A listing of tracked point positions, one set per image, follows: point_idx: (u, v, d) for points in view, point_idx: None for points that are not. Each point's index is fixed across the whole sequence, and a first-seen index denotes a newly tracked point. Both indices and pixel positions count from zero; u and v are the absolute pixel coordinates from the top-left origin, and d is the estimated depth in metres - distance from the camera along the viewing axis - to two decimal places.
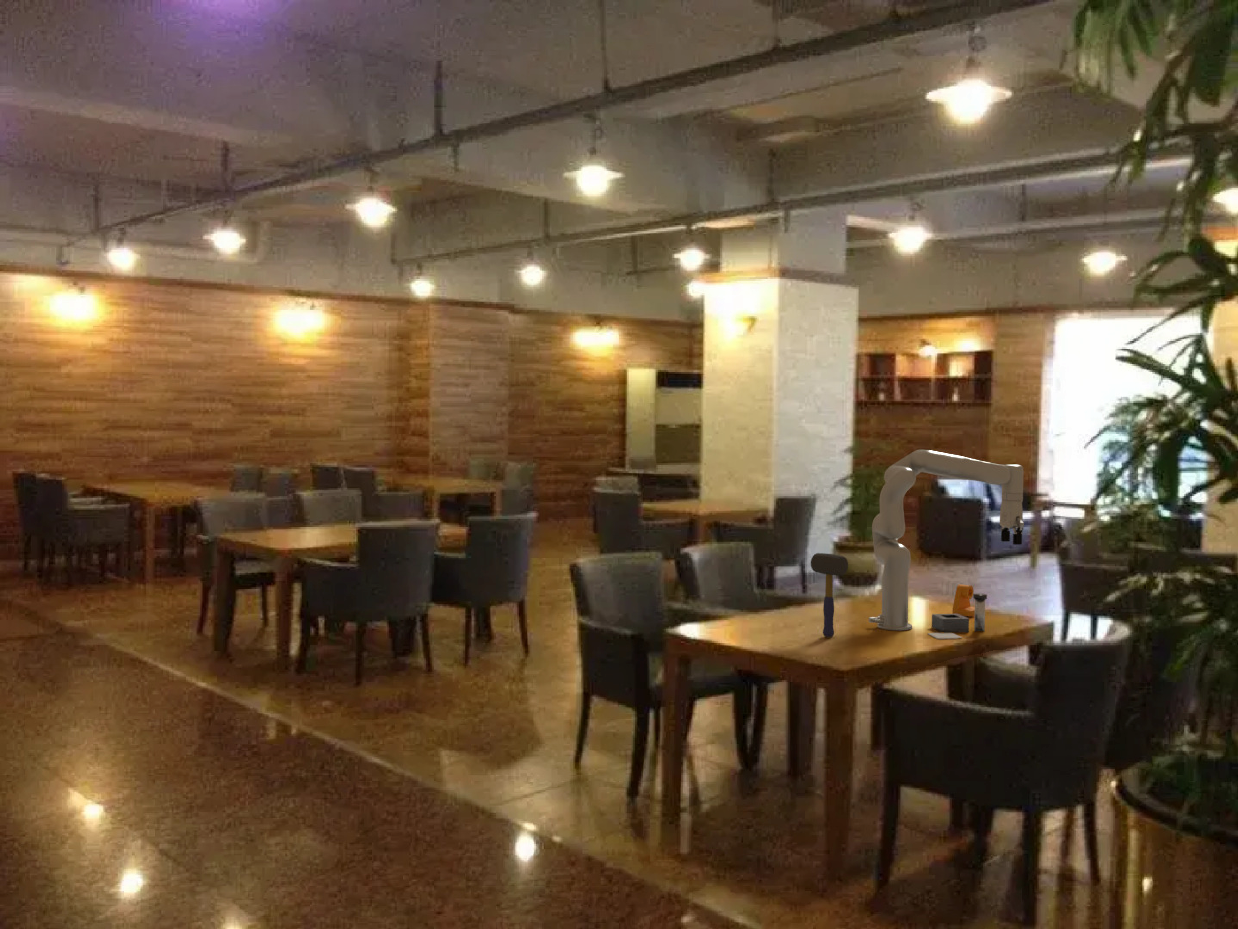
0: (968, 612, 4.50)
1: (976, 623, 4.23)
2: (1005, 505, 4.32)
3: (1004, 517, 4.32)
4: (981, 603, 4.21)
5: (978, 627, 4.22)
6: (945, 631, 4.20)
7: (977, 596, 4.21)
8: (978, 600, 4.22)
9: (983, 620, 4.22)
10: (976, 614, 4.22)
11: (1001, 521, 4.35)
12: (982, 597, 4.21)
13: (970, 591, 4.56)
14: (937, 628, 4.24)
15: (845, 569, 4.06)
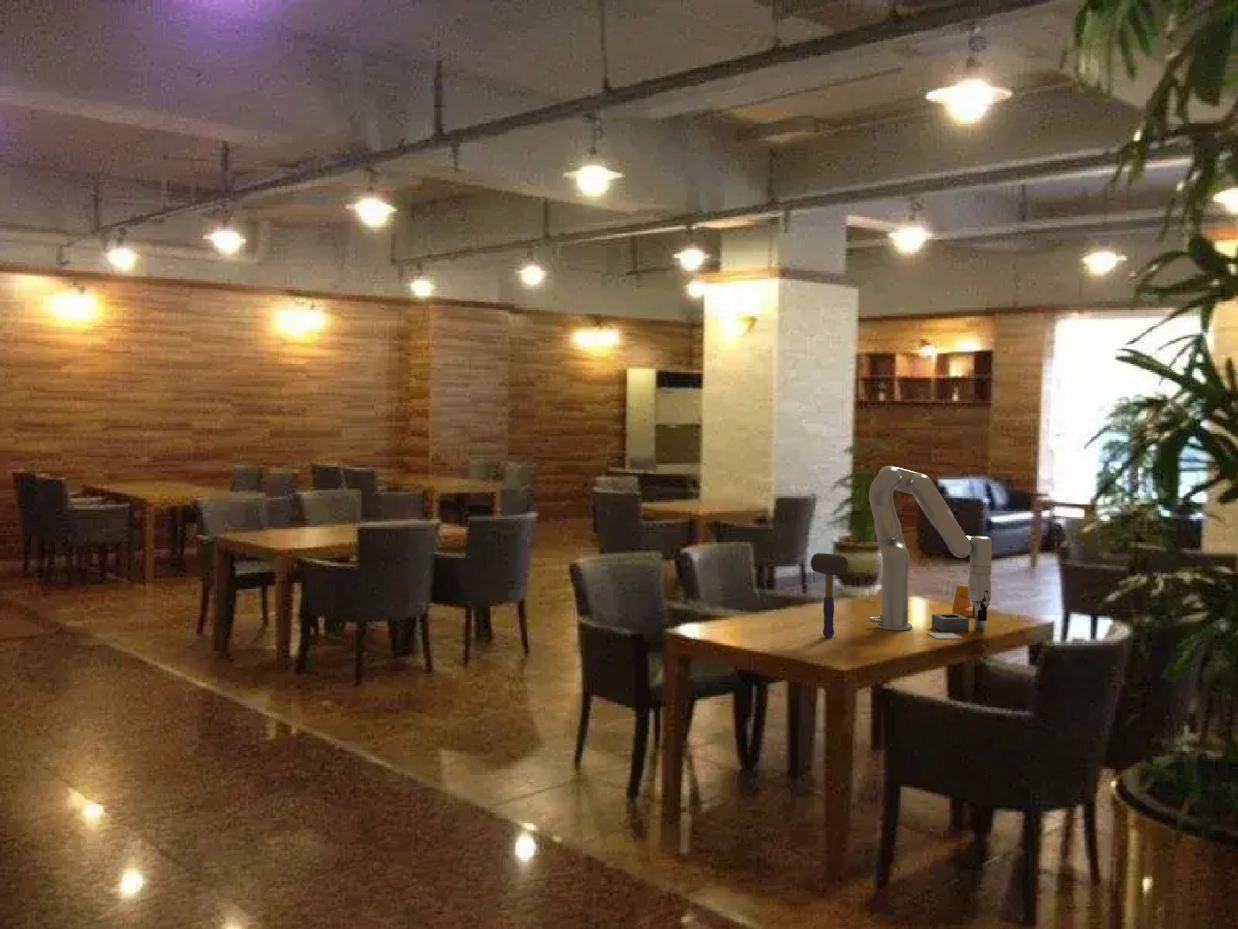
0: (968, 612, 4.50)
1: (976, 623, 4.23)
2: (973, 578, 4.22)
3: (972, 590, 4.23)
4: (981, 603, 4.21)
5: (978, 627, 4.22)
6: (945, 631, 4.20)
7: None
8: None
9: None
10: (976, 614, 4.22)
11: (969, 594, 4.25)
12: None
13: None
14: (937, 628, 4.24)
15: (845, 569, 4.06)
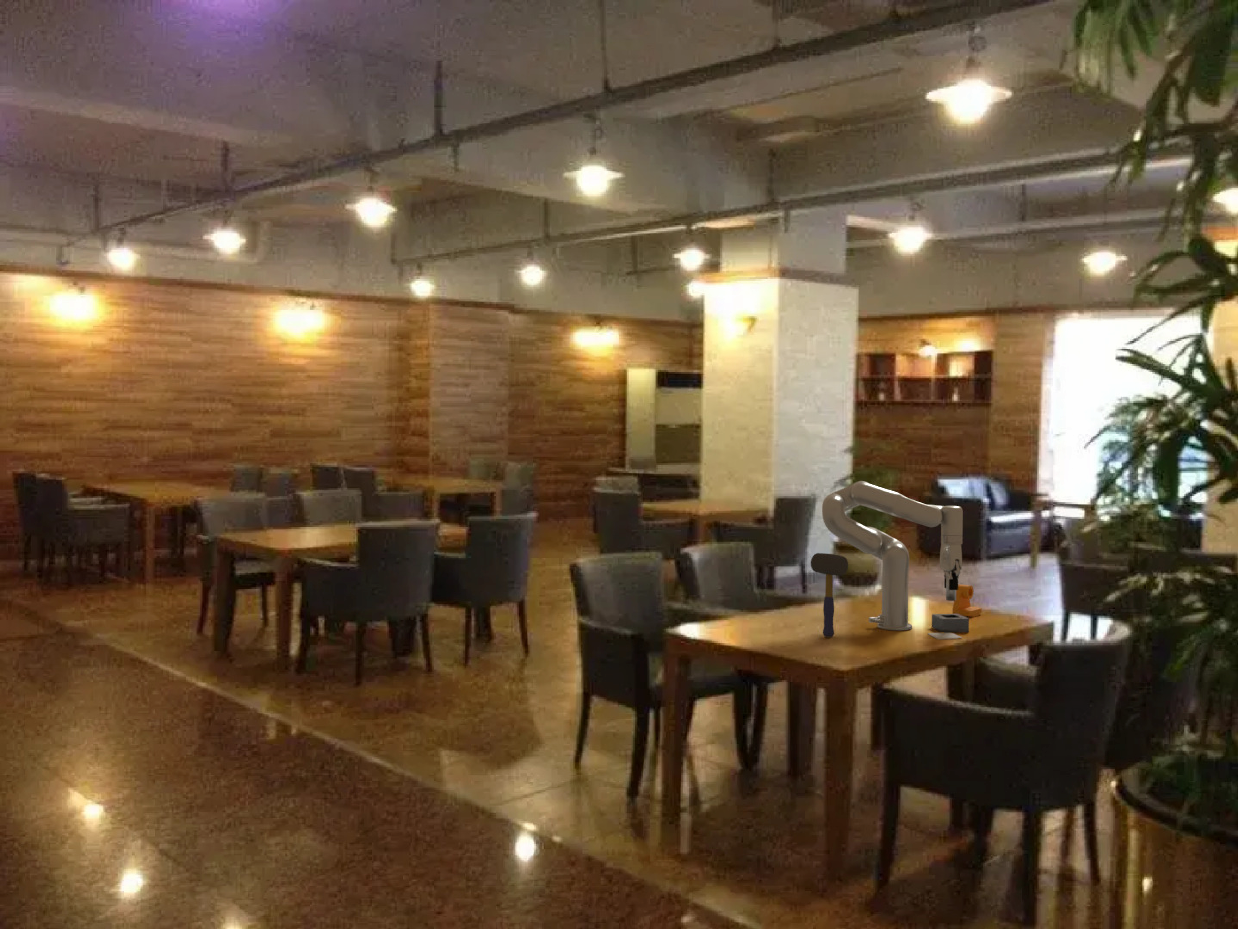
0: (968, 612, 4.50)
1: (948, 592, 4.24)
2: (944, 548, 4.24)
3: (944, 559, 4.24)
4: None
5: (949, 596, 4.23)
6: (945, 631, 4.20)
7: None
8: None
9: None
10: (948, 583, 4.24)
11: (941, 563, 4.27)
12: None
13: (970, 591, 4.56)
14: (937, 628, 4.24)
15: (845, 569, 4.06)
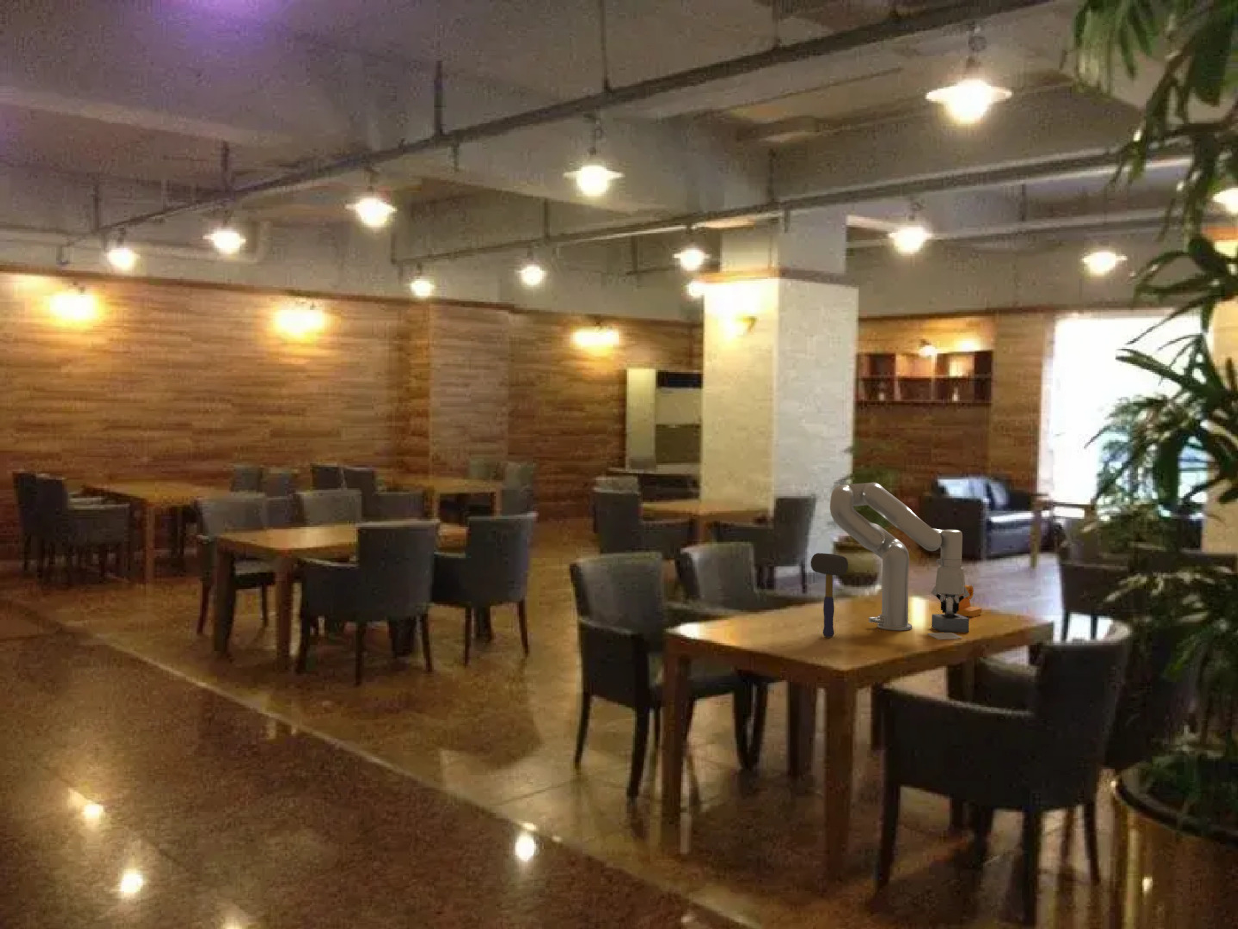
0: (968, 612, 4.50)
1: (951, 616, 4.24)
2: (949, 572, 4.22)
3: (948, 584, 4.22)
4: None
5: None
6: (945, 631, 4.20)
7: None
8: None
9: None
10: (951, 607, 4.23)
11: (941, 589, 4.23)
12: None
13: (970, 591, 4.56)
14: (937, 628, 4.24)
15: (845, 569, 4.06)
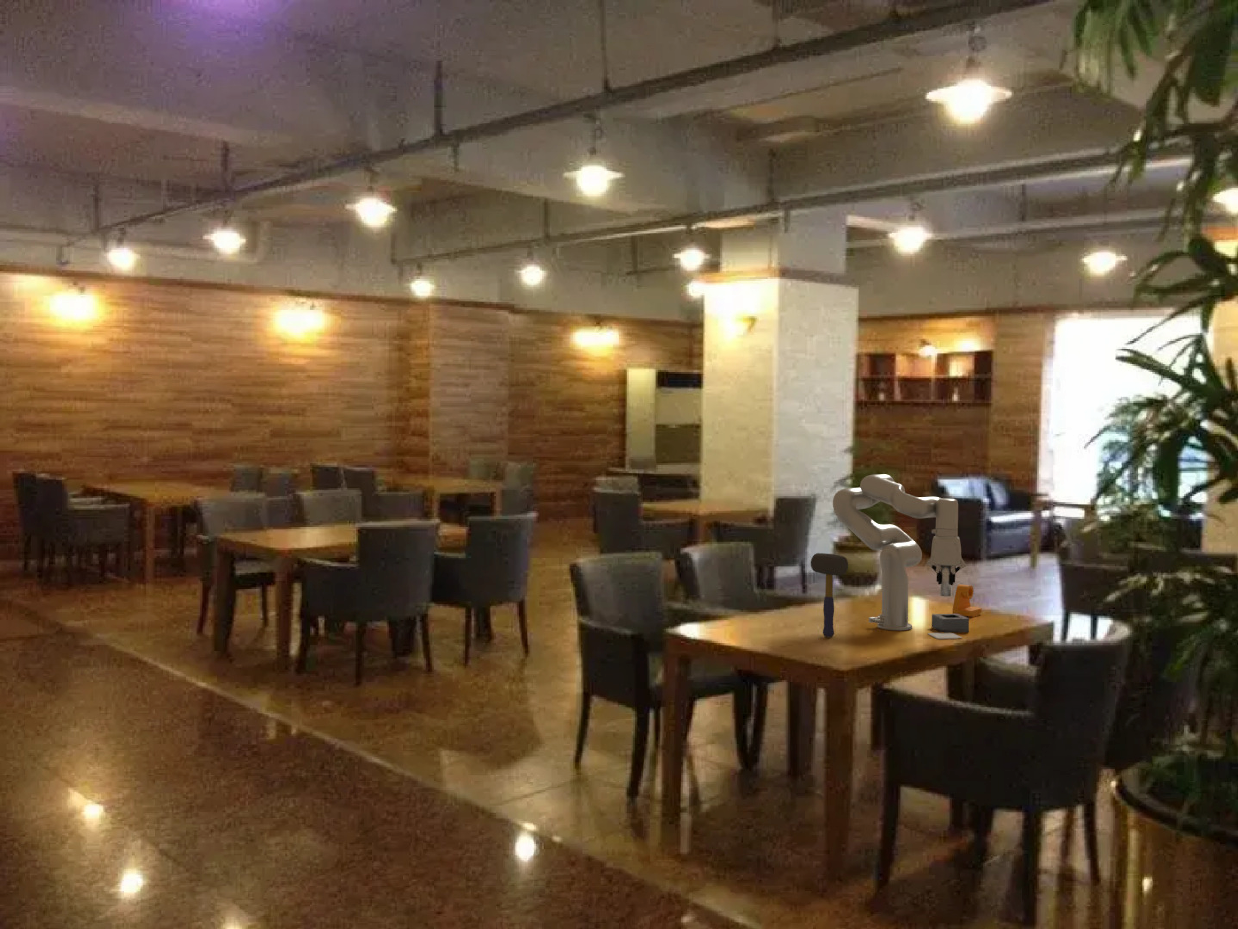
0: (968, 612, 4.50)
1: (947, 588, 4.10)
2: (945, 542, 4.08)
3: (944, 555, 4.09)
4: None
5: (949, 592, 4.10)
6: (945, 631, 4.20)
7: None
8: None
9: None
10: (947, 579, 4.10)
11: (937, 559, 4.10)
12: None
13: (970, 591, 4.56)
14: (937, 628, 4.24)
15: (845, 569, 4.06)
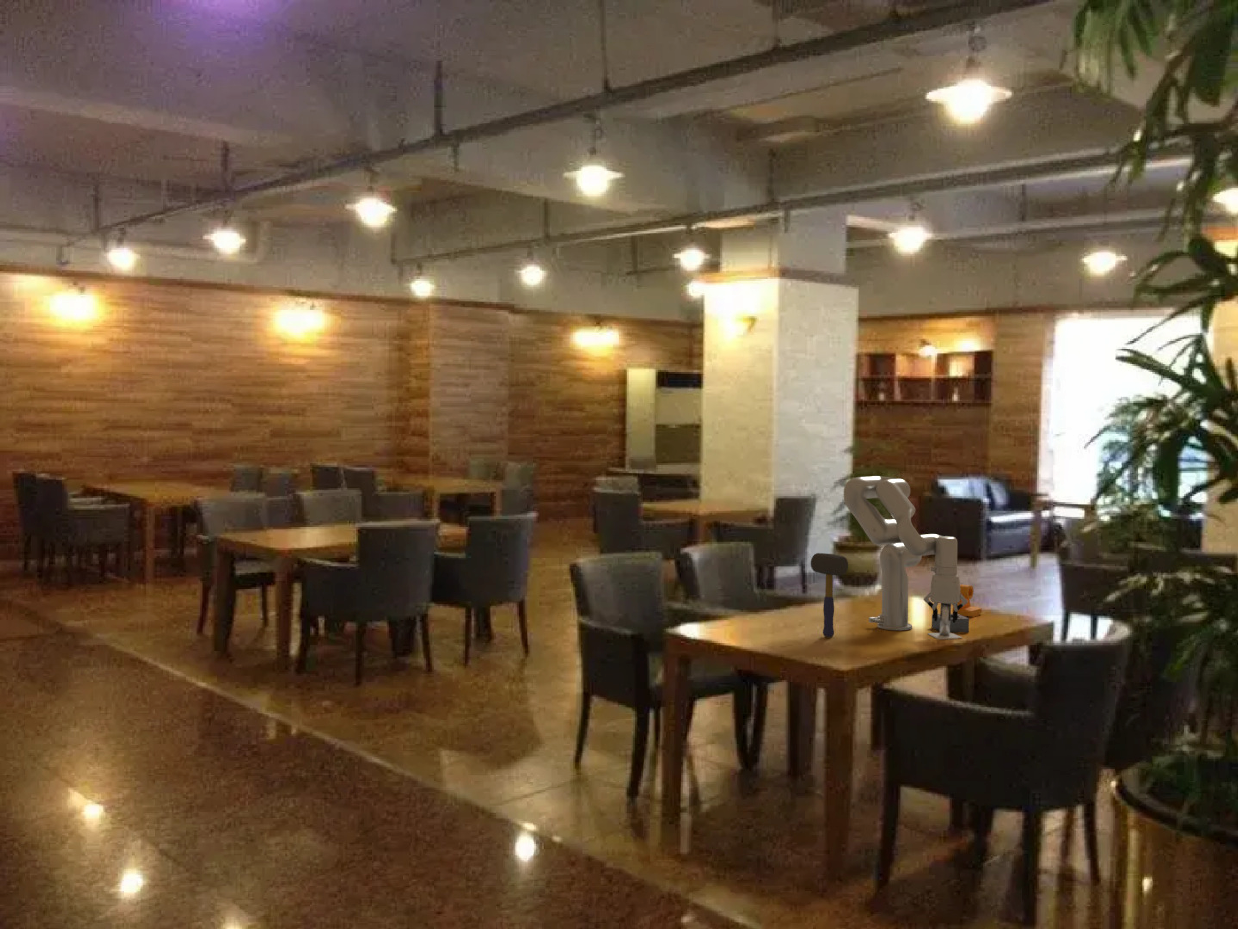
0: (968, 612, 4.50)
1: (946, 628, 4.11)
2: (944, 580, 4.09)
3: (943, 593, 4.10)
4: (950, 606, 4.11)
5: (948, 631, 4.11)
6: None
7: None
8: (949, 604, 4.10)
9: None
10: (946, 618, 4.11)
11: (936, 597, 4.11)
12: None
13: (970, 591, 4.56)
14: (937, 628, 4.24)
15: (845, 569, 4.06)
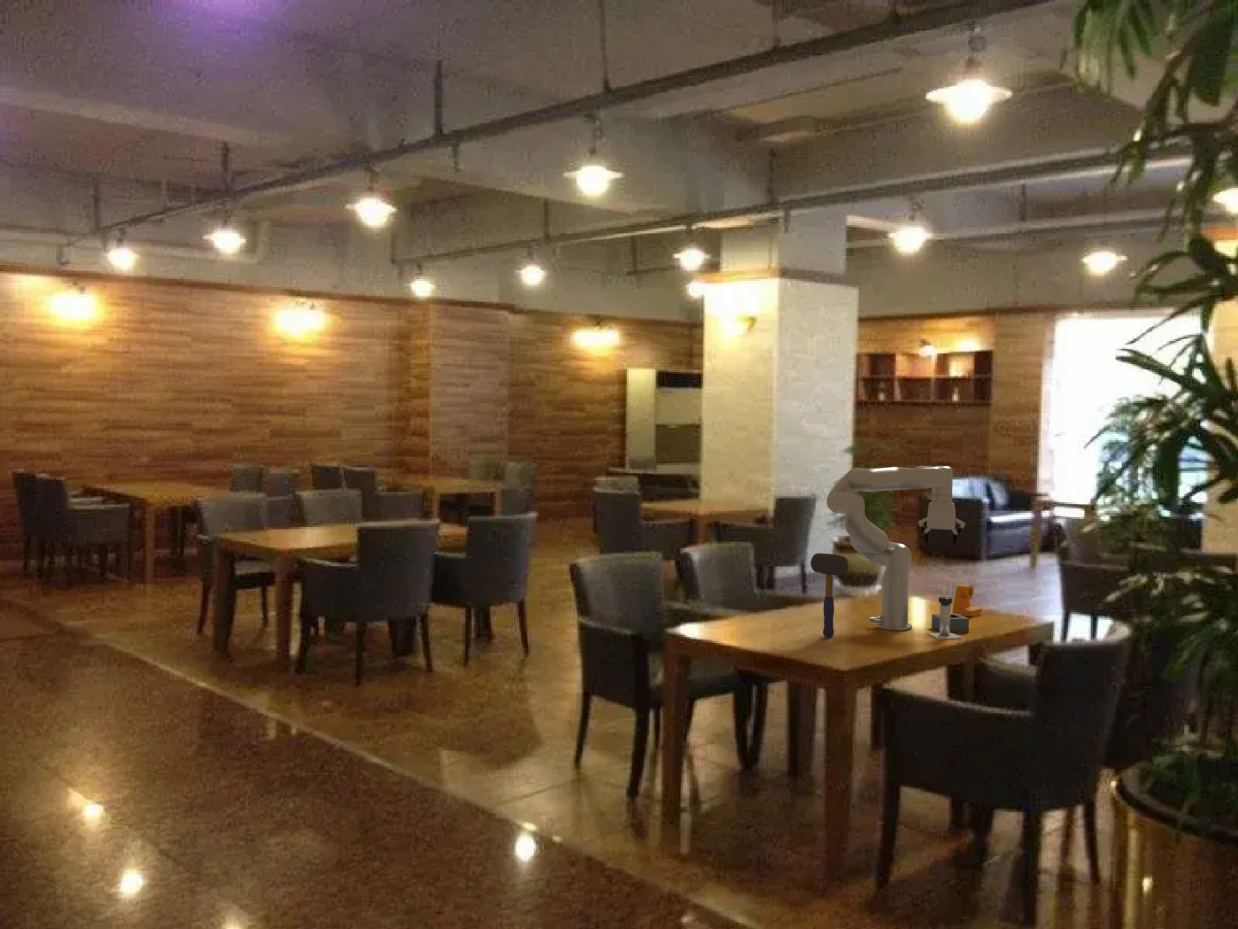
0: (968, 612, 4.50)
1: (946, 628, 4.11)
2: (940, 507, 4.33)
3: (939, 519, 4.33)
4: (950, 606, 4.11)
5: (948, 631, 4.11)
6: None
7: (949, 600, 4.10)
8: (948, 604, 4.10)
9: None
10: (946, 618, 4.11)
11: (933, 523, 4.34)
12: (952, 600, 4.11)
13: (970, 591, 4.56)
14: (937, 628, 4.24)
15: (845, 569, 4.06)
